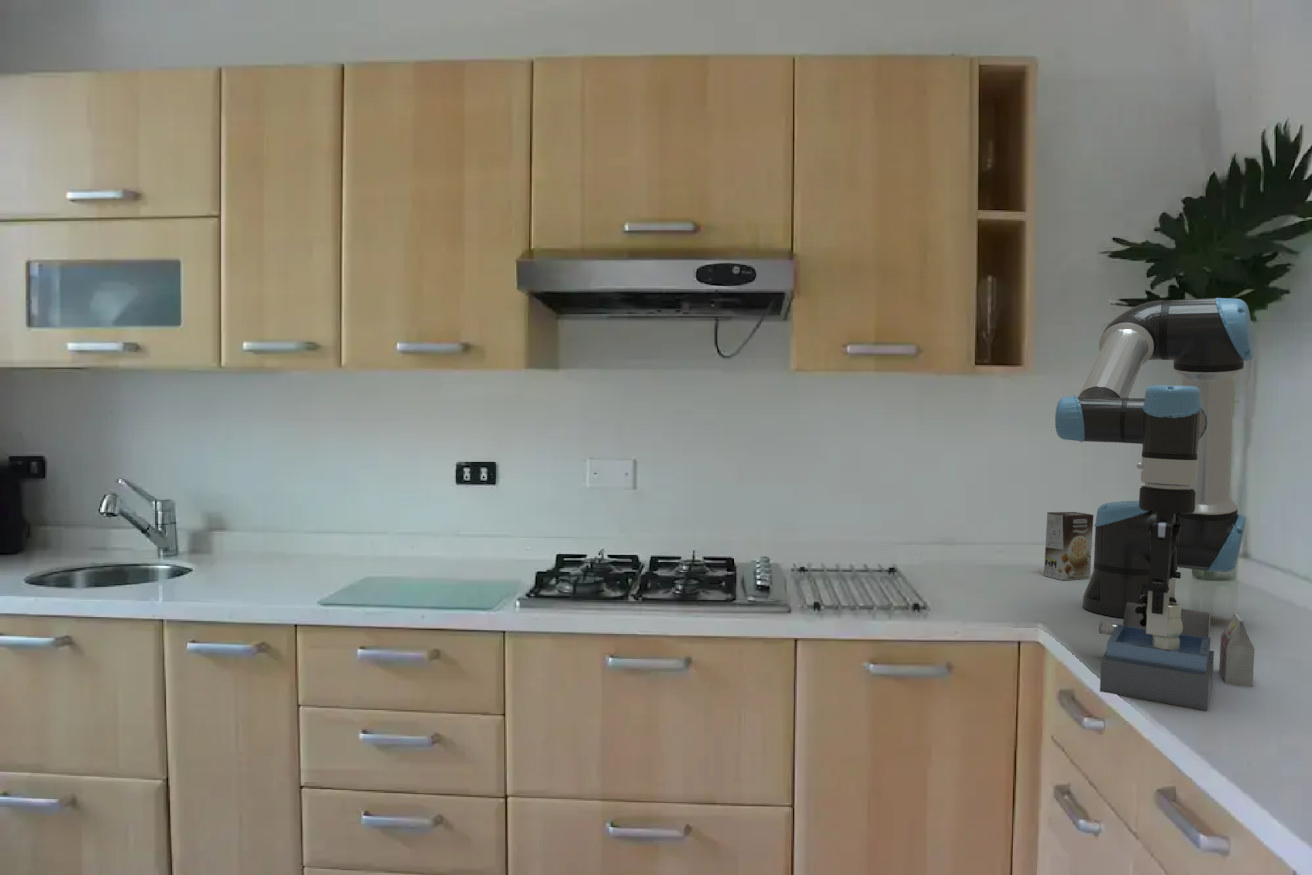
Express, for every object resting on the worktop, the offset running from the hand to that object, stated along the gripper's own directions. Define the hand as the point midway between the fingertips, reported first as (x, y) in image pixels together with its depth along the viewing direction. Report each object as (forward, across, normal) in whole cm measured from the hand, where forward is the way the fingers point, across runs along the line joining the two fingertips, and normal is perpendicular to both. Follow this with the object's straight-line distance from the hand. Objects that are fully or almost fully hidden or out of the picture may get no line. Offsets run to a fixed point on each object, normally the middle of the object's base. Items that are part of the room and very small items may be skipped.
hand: (1160, 626), depth 142 cm
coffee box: (+9, -86, -27) cm, 91 cm away
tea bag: (+10, -13, +10) cm, 19 cm away
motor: (+9, -5, -1) cm, 11 cm away
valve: (+2, 0, 0) cm, 2 cm away
